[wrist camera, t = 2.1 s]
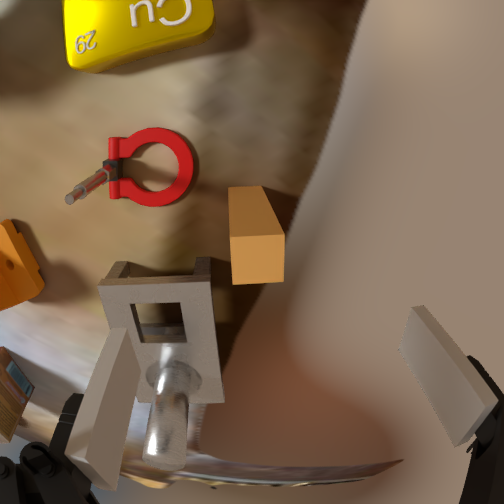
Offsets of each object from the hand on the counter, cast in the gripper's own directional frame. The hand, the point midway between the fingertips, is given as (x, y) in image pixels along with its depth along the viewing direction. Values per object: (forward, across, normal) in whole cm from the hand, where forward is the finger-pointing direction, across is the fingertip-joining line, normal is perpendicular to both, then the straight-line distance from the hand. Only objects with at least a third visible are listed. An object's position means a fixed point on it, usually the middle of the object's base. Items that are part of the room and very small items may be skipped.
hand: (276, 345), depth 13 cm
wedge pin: (+22, 0, 0) cm, 22 cm away
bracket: (+22, -32, -5) cm, 39 cm away
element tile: (+23, -11, +24) cm, 35 cm away
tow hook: (+22, -10, +5) cm, 25 cm away
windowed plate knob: (+22, -10, -15) cm, 29 cm away
